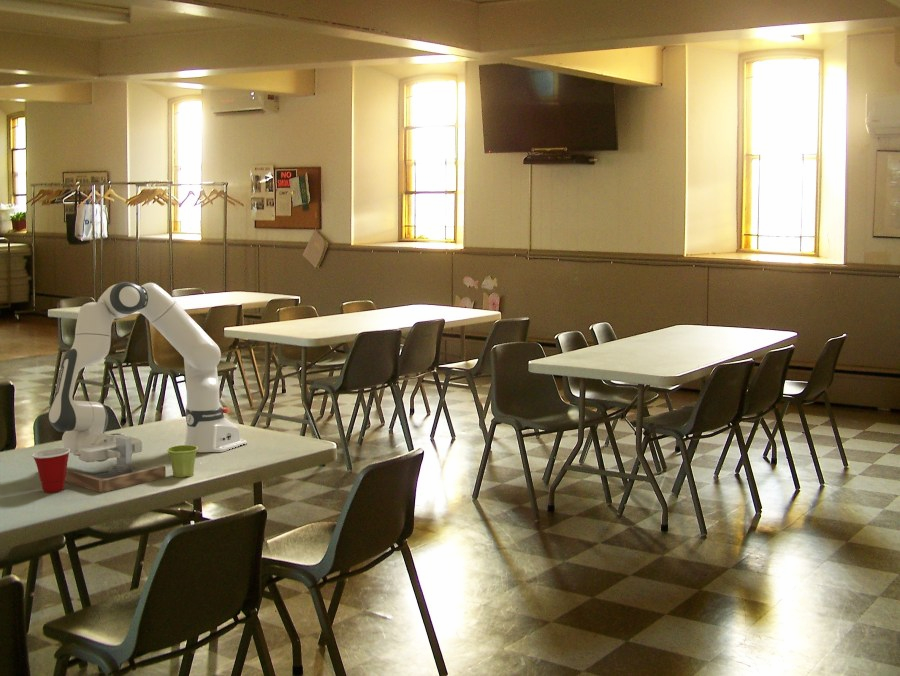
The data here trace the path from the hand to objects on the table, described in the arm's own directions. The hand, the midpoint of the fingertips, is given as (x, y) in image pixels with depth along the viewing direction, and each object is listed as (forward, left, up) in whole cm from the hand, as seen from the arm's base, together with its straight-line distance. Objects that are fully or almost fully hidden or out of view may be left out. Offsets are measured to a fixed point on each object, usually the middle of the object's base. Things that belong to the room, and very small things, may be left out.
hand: (125, 453), depth 333 cm
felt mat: (+2, -2, -8) cm, 8 cm away
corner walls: (+2, -2, -8) cm, 8 cm away
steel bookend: (+1, -1, -6) cm, 6 cm away
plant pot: (-14, +10, -8) cm, 19 cm away
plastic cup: (+22, -6, -8) cm, 24 cm away
